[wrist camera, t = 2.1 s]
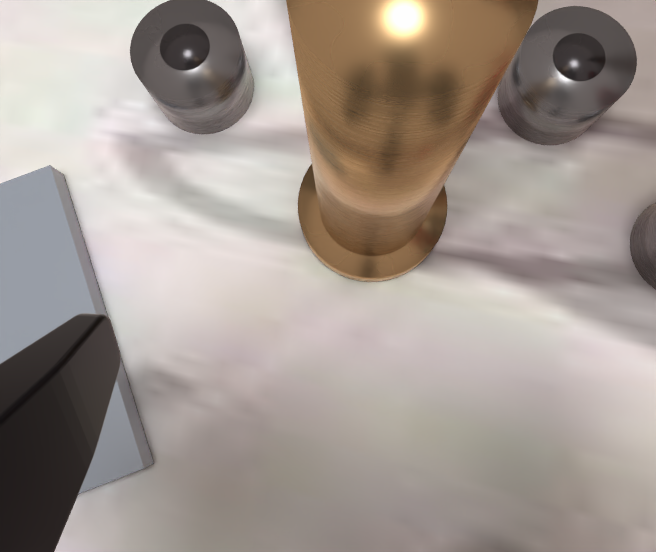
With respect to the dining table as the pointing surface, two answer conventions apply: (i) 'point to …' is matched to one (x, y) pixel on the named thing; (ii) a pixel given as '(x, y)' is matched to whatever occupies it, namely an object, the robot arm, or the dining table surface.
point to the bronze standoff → (392, 118)
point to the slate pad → (59, 302)
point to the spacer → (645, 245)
